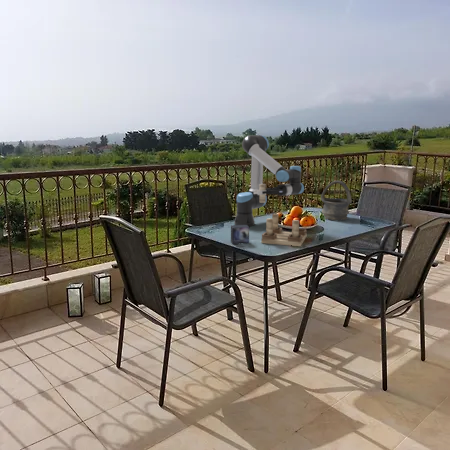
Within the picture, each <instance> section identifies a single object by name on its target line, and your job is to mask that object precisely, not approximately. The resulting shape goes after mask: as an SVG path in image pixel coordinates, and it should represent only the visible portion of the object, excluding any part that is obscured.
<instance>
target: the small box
mask: <svg viewBox="0 0 450 450" xmlns="http://www.w3.org/2000/svg"><path fill="white" fill-rule="evenodd" d="M230 243H233V244H232V245H234V244H235V245H238V244H239V243H240V244H239V245H241V243H243V244H250V226H248V225H230Z"/></svg>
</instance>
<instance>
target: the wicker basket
mask: <svg viewBox="0 0 450 450" xmlns="http://www.w3.org/2000/svg"><path fill="white" fill-rule="evenodd" d="M335 184H338V185H340V186H342V187H343V189H344V191H345V193H346V194H345V195H346V198H335V197H331V198H330V197H329V198H326V197H325V194H326V193H327V192H328V189H330V188H331V186H334V185H335ZM347 185H348V184H346V183H345V182H344V181H342V180H333V181H331V182H330V183H329V184H328V185H327V186H326V187H325V188H324V190H323V191H322V193H321V194H320V200H321V201H322V203H324V204H323V206H322V207H323V208H322V210H321V213H322V215H323V214H324V216H325V220H327V219H328V220H327V221H336V220H338V221H344V220H345V221H346V220H348V215H349V214H350V212H349V205H350V204H352V195H351V191H350V189H349V187H348V186H347Z"/></svg>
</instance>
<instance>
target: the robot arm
mask: <svg viewBox="0 0 450 450" xmlns="http://www.w3.org/2000/svg"><path fill="white" fill-rule="evenodd" d="M269 142H270V141H269V140H268V138H267V137H266V136H265V135H260V134H257V135H256V134H255V135H246V136H245V137H244V138H243V140H242V144H241V145H242V149H243V150H244V152H246V153H247V154H248V155H249V156H251V171H250V173H251V174H250V175H251V176H250V177H251V178H250V188H249V190H248V191H246V192H239V193H238V194H237V195H236V215H235V218H234V223H233V224H235V225H248V226H249V227H252V226H254V225H256V221H255V217H254V215H253V210H255V209H260V208H262V207H264V206H266V203H267V200H268V198H267V197H268V196H267V195H278V196H281V197H283V196H286V197H288V196H290V195H299V194H300V195H301V194H302V193H304V191H305V186H304V184H303V183H302V182H301V179H302V178H301V177H302V167H301V166H299V165H291V166H290V167H289V169H286V168H285V167H284V166H283V165H281V164H280V163H279V162H278V161H277V160H275V159H274V158H273V157H272V156H271V155H269V154H268V153H267V150H268V149H269V146H270V143H269ZM264 167H265V168H266V169H268V170H269V171H270V172H271V173H272V174H274V175H275V178H276V180H277V181H278V182H280V183H285V182H289V183H285V184H278V185H277V186H276V187H275V186H274V187H266V190H260V184H263V177H264V176H263V175H264ZM263 194H266V199H265V203H260V202H259V195H263Z"/></svg>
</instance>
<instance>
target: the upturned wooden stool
mask: <svg viewBox="0 0 450 450" xmlns="http://www.w3.org/2000/svg"><path fill="white" fill-rule="evenodd" d="M265 224H266V225H265V226H266V229H265V232H263V233H262V234H261V244H267V245H268V244H269V245H278V246H279V245H281V246H282V245H283V246H291V245H292V247H302V245H303V243H304V242H305V240H306V239H307V236H308V235H307V229H305V228H300V220H299V219H293V220H292V225H291V226H292V227H291V231H283V227H279V213H272V214H271V218H269V217H268V218H266V223H265Z"/></svg>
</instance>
